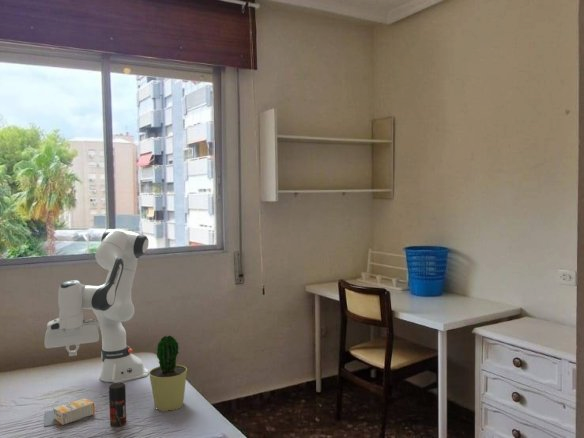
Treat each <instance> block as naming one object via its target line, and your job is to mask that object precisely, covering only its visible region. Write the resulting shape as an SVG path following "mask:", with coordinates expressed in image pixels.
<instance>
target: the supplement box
mask: <svg viewBox="0 0 584 438" xmlns="http://www.w3.org/2000/svg"><path fill="white" fill-rule="evenodd" d="M95 406H96V405H95V402H93V401H91V400H89V399H87V398H86V397H84V398H81V399H77V400H75V401H71V402H67V403H64V404H61V405H57V406H55V407H53V410H52V411H53V412H54V419H55V420H56V421H58V422H59V423H61V424H60V425H62V426H63V425H66V424H70V423H73V422H72V421H74V422H76V421H75V420H78V419H81V418H84V417H87V416H89V417H90V416H92V415H95V414H96V409H95Z"/></svg>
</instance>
